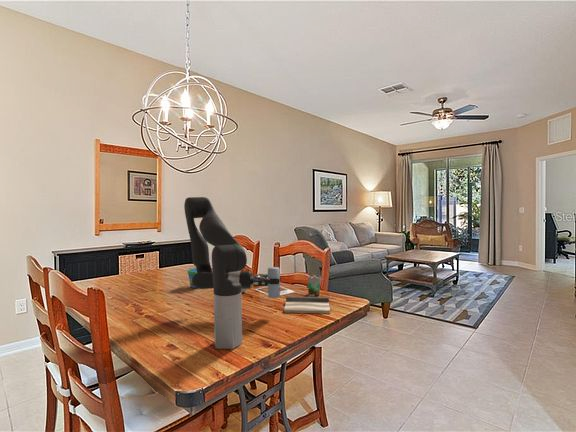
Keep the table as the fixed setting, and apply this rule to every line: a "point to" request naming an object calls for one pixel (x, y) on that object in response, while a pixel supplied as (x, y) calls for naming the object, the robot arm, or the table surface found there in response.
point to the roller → (274, 288)
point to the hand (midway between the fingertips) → (279, 279)
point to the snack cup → (191, 275)
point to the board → (307, 305)
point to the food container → (314, 285)
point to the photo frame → (280, 291)
